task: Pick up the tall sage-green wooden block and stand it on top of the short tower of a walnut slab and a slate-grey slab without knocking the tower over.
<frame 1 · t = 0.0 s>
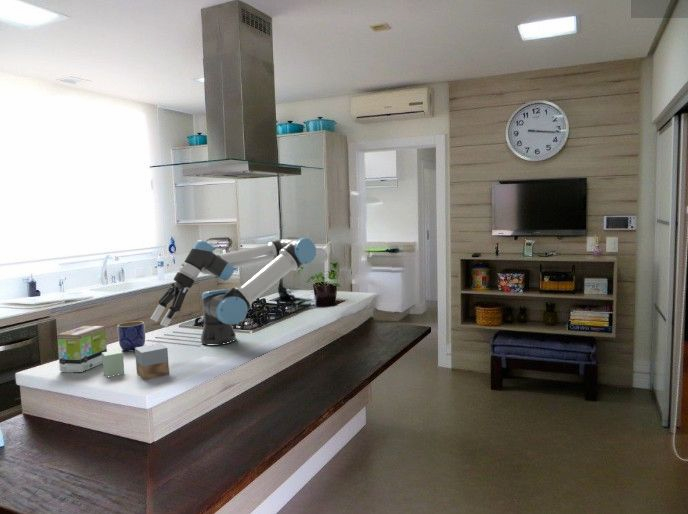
hand: (158, 323, 201), 15 cm above the countertop, tool tilted 35°, fingers open, 13 cm apart
tower top: (152, 361, 186), point 5 cm above the countertop, touching tower base
tea box: (85, 367, 200), on the countertop
tower base: (153, 374, 187), on the countertop, touching tower top
green block: (114, 373, 189), on the countertop
planter: (133, 349, 223), on the countertop
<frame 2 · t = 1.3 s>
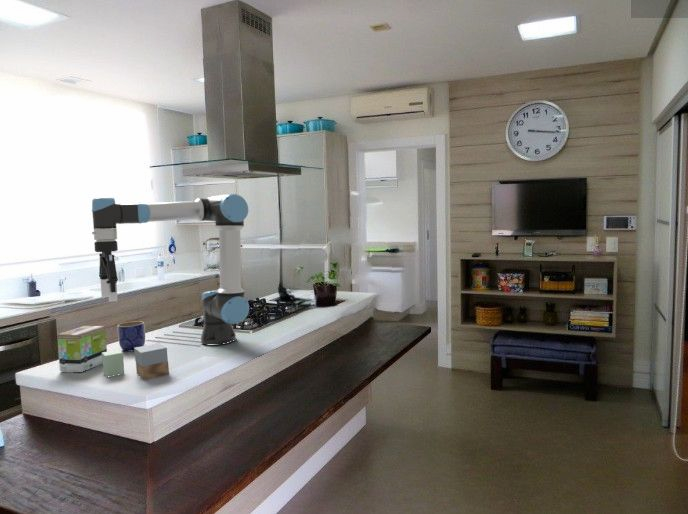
hand: (109, 299, 187), 28 cm above the countertop, tool pointing down, fingers open, 13 cm apart
nothing on the countertop moved.
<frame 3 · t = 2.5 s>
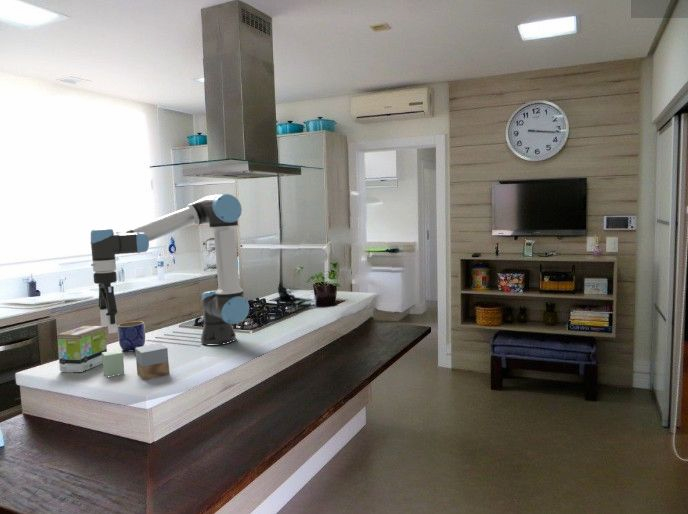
hand: (109, 329, 187), 16 cm above the countertop, tool pointing down, fingers open, 13 cm apart
nothing on the countertop moved.
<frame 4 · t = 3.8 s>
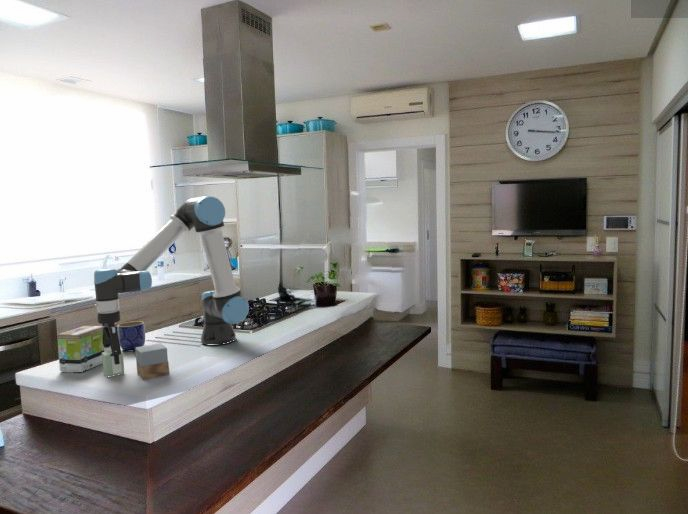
hand: (113, 368, 189), 2 cm above the countertop, tool pointing down, fingers open, 13 cm apart
nothing on the countertop moved.
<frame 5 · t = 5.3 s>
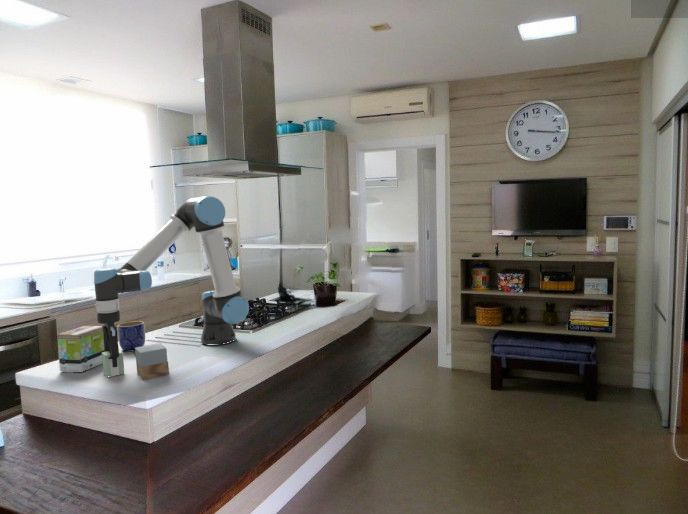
hand: (113, 373, 189), 0 cm above the countertop, tool pointing down, fingers closed on green block, 6 cm apart
tower top: (151, 361, 186), point 5 cm above the countertop
tower base: (153, 374, 187), on the countertop
green block: (114, 373, 189), on the countertop, touching gripper
everything else where it was.
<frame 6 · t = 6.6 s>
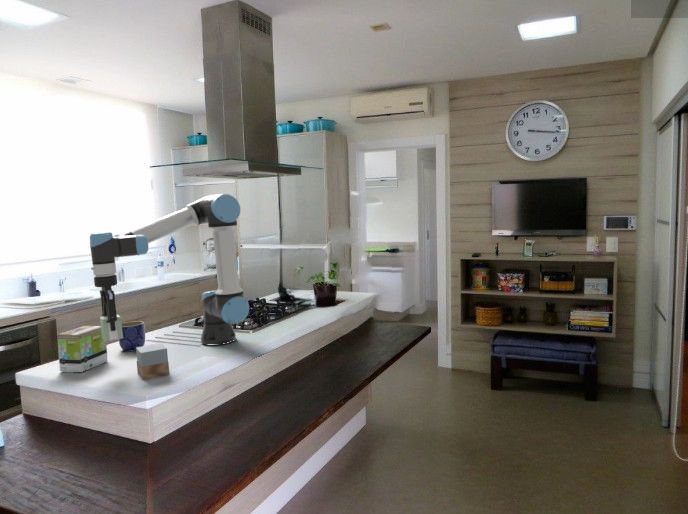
hand: (111, 337, 188), 13 cm above the countertop, tool pointing down, fingers closed on green block, 6 cm apart
tower top: (152, 361, 186), point 5 cm above the countertop, touching tower base
tower base: (153, 374, 187), on the countertop, touching tower top
green block: (112, 338, 188), point 13 cm above the countertop, touching gripper
everything else where it was.
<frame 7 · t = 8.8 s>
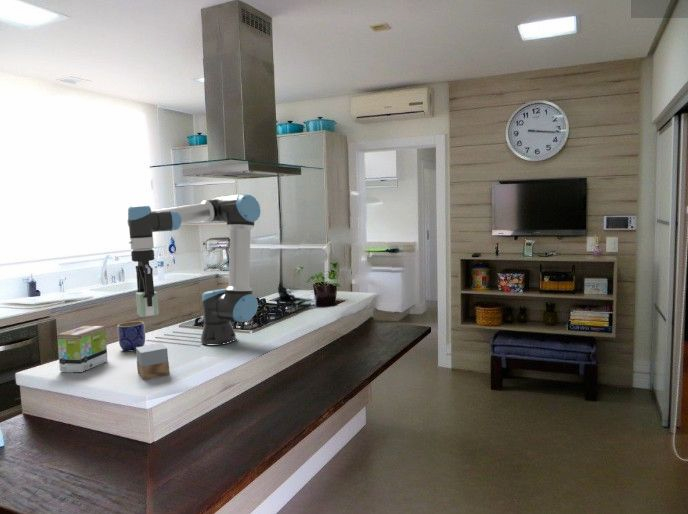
hand: (147, 313, 184), 22 cm above the countertop, tool pointing down, fingers closed on green block, 6 cm apart
green block: (148, 314, 184), point 22 cm above the countertop, touching gripper
everything else where it was.
when the fingers open (11 cm above the countertop, at t = 10.7 s): green block drops 1 cm, resting on tower top.
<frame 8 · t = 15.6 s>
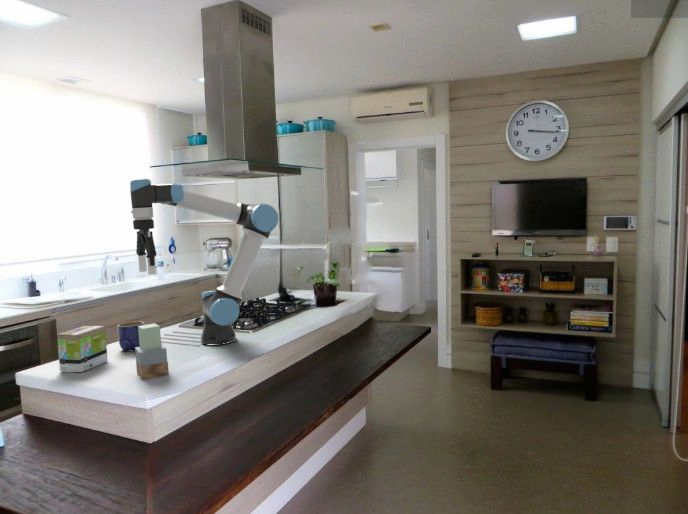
hand: (147, 273, 203), 35 cm above the countertop, tool pointing down, fingers open, 13 cm apart
tower top: (151, 361, 186), point 5 cm above the countertop, touching green block, tower base
green block: (150, 347, 186), point 10 cm above the countertop, touching tower top
everything else where it was.
at the end: green block 0.1 cm off-centre on the tower top, point 5.0 cm above the tower top's base; tower top 0.2 cm off-centre on the tower base, point 5.0 cm above the tower base's base; tower base moved 0.3 cm from its start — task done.
